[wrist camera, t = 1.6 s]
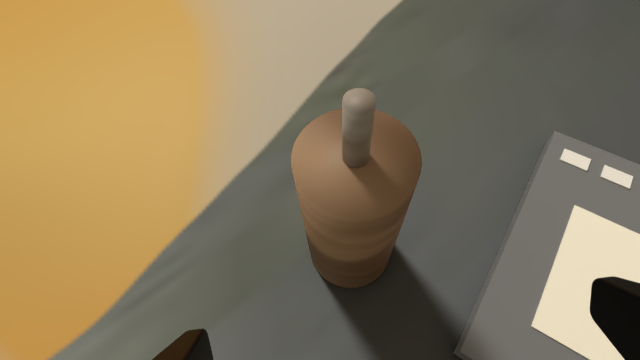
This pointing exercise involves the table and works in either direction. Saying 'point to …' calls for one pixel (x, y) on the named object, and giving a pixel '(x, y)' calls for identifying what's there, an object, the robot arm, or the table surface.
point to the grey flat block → (559, 258)
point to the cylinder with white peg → (354, 187)
